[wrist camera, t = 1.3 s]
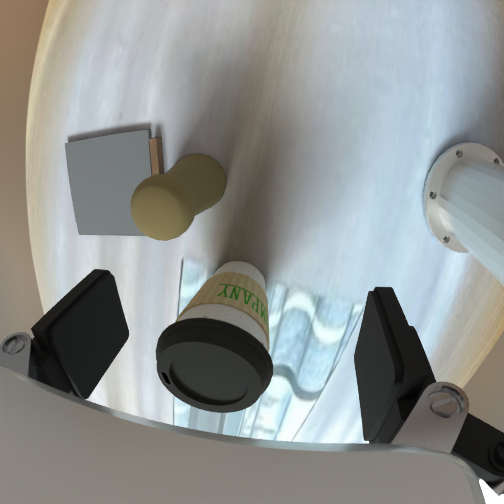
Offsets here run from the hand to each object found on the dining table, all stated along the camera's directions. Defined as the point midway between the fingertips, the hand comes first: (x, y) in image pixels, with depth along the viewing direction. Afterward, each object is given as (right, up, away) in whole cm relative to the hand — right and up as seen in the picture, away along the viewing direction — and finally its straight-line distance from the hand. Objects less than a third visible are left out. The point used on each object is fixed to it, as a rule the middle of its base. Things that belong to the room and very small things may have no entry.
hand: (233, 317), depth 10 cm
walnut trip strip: (-9, +10, +21) cm, 25 cm away
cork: (-5, +10, +21) cm, 24 cm away
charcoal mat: (-16, +10, +22) cm, 29 cm away
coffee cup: (-1, -2, +25) cm, 26 cm away
